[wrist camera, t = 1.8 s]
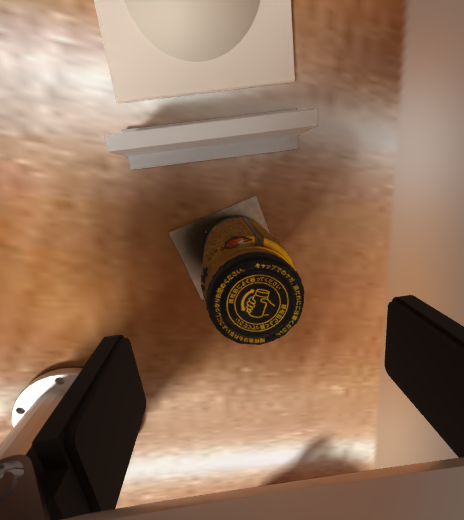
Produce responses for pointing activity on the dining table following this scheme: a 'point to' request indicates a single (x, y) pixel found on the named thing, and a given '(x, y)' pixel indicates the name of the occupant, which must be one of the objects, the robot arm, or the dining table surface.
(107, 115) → the dining table surface
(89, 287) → the dining table surface
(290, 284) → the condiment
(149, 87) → the pad
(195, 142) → the low wall
